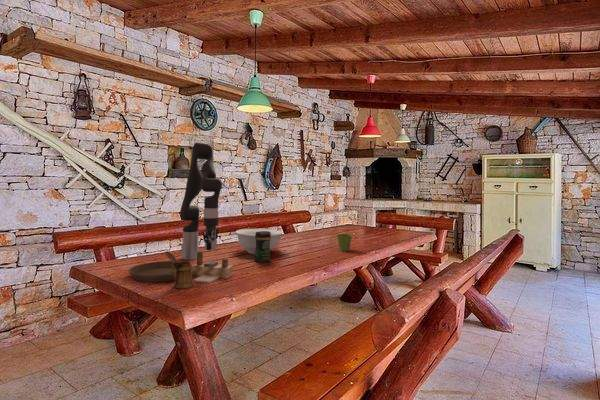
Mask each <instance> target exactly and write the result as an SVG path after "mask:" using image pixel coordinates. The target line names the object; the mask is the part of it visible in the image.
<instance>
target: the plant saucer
mask: <svg viewBox="0 0 600 400" xmlns="http://www.w3.org/2000/svg"><path fill="white" fill-rule="evenodd" d="M176 262H181V261H178V260H176ZM172 263H173V262H172V261H171V260H165V261H164V260H162V261H161V260H160V261H153V262H145V263H140V264H137V265H134V266H132V267H129V269H128V273H129V274H130V276H131V277H133V278H134V280H136V281H139V282H145V283H146V282H148V283H161V282H163V283H164V282H171V281H175V279H174V277H173V275H172V273H171V265H172ZM192 266H193V264H191V267H192ZM174 272H175V273H176V268H175V270H174Z"/></svg>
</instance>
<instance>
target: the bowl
mask: <svg viewBox="0 0 600 400" xmlns="http://www.w3.org/2000/svg"><path fill="white" fill-rule="evenodd" d="M260 231H268V232H270V233H271V239H270V251H272V250H273V249H275V248H276V247H277V246H278V245H279V243H280V240H281V239H280V238H281V236H282V234H283V231H282V230H278V229H269V228H242V229H238V230H236V231H235V234H236V235H237V241H238V243H239V246H240V247H242V248H243V249H245V250H246V251H247V253H248V254H250V255H255V249H256V239H255V235H256V232H260Z"/></svg>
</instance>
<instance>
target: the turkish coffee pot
mask: <svg viewBox="0 0 600 400" xmlns="http://www.w3.org/2000/svg"><path fill="white" fill-rule="evenodd" d="M165 255H166V257H167V259H169V261H172V262H173V263H172V265H171V273H172V275H173V277H174V279H175V280H174V282H173V288H175V289H177V290H179V289H180V290H182V289H190V288H192V287H194V286H195V285H194V280H193V275H192V267H191V265H192V264H191V261H189V260H184V261H180V262H176V261H177V259H176V258H175V256H174V255H173V253H171V252H169V251H168V250H165ZM175 268H176V273H175V272H174V270H175Z"/></svg>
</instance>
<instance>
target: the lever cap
mask: <svg viewBox="0 0 600 400" xmlns="http://www.w3.org/2000/svg"><path fill="white" fill-rule="evenodd" d="M216 250H218V240H217V239H216V240H211V250H209V251H211V252H214V251H216ZM204 251H208V250H207V249H206V242H204Z"/></svg>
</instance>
